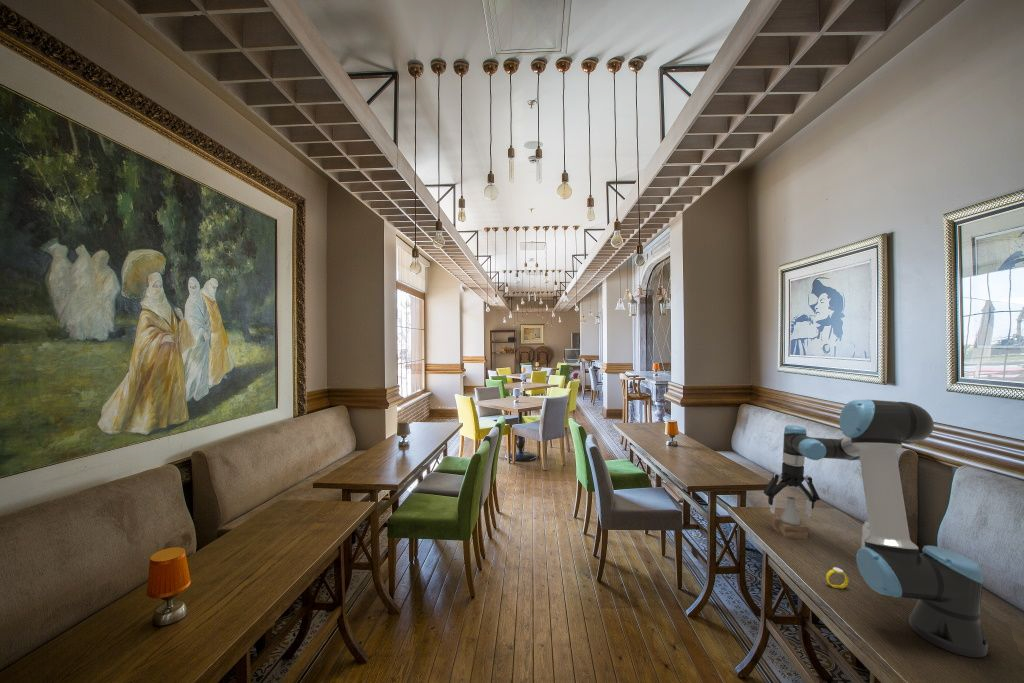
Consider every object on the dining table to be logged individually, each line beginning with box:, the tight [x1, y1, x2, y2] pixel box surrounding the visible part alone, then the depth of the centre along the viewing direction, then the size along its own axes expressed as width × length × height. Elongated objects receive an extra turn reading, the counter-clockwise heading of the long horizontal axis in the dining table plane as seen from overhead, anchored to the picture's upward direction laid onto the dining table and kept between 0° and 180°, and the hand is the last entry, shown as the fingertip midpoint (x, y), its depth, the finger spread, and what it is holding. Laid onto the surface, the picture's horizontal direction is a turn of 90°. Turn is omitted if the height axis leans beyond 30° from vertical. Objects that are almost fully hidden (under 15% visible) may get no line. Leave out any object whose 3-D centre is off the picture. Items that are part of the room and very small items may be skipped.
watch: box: [825, 566, 849, 590], centre depth 139 cm, size 6×3×6 cm, turn 80°
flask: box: [780, 496, 802, 526], centre depth 175 cm, size 7×7×10 cm
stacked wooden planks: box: [771, 515, 809, 540], centre depth 176 cm, size 9×9×5 cm
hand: (790, 514), depth 176 cm, fingers open, 13 cm apart
